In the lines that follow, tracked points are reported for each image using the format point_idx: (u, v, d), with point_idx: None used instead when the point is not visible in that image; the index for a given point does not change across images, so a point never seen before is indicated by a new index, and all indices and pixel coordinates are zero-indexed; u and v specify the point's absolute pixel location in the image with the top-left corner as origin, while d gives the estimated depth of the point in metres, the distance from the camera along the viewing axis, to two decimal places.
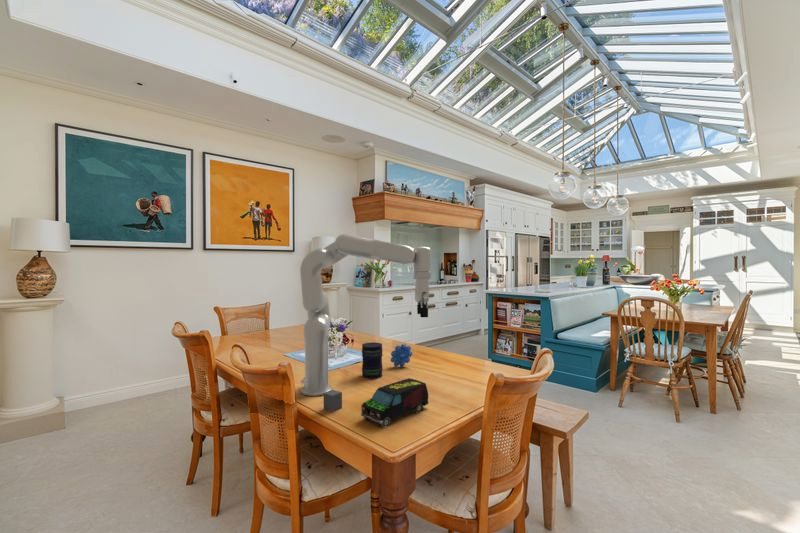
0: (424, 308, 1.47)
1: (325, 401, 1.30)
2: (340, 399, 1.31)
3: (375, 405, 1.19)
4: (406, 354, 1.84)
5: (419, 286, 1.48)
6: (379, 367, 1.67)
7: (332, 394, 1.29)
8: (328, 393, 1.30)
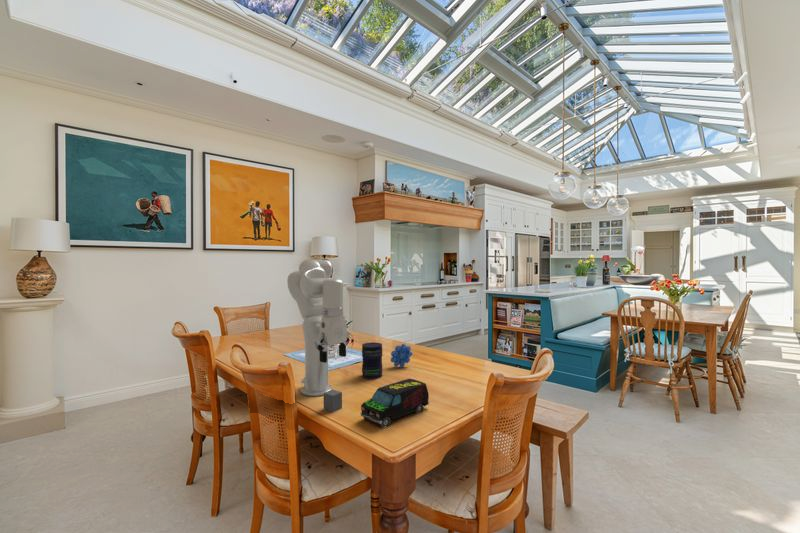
0: None
1: (325, 401, 1.30)
2: (340, 399, 1.31)
3: (375, 405, 1.19)
4: (406, 354, 1.84)
5: None
6: (379, 367, 1.67)
7: (332, 394, 1.29)
8: (328, 393, 1.30)
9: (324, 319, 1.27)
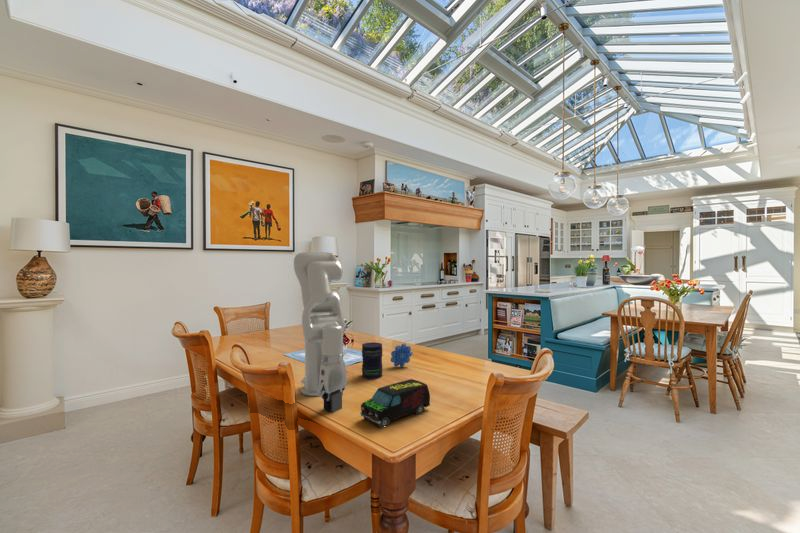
0: None
1: None
2: (340, 399, 1.31)
3: (374, 405, 1.19)
4: (406, 354, 1.84)
5: None
6: (379, 367, 1.67)
7: (332, 394, 1.29)
8: None
9: (324, 366, 1.27)
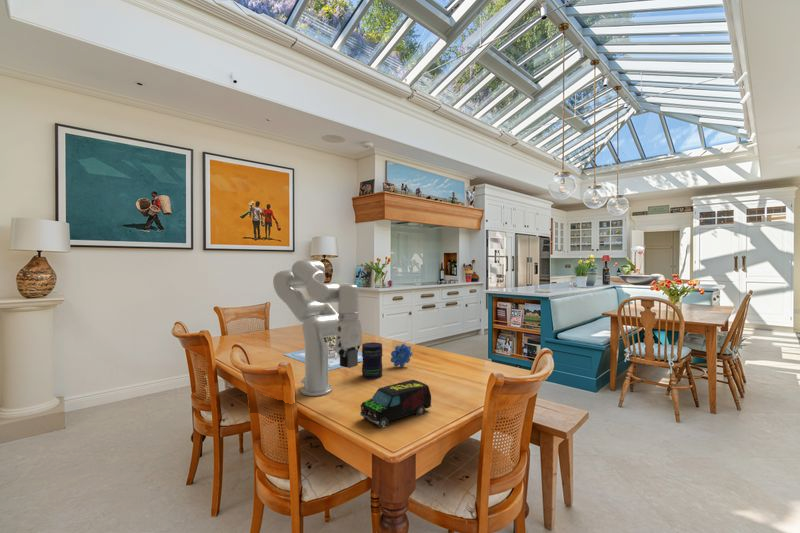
0: None
1: None
2: (356, 356, 1.35)
3: (373, 405, 1.19)
4: (406, 354, 1.84)
5: None
6: (379, 367, 1.67)
7: (348, 351, 1.33)
8: None
9: (340, 323, 1.31)
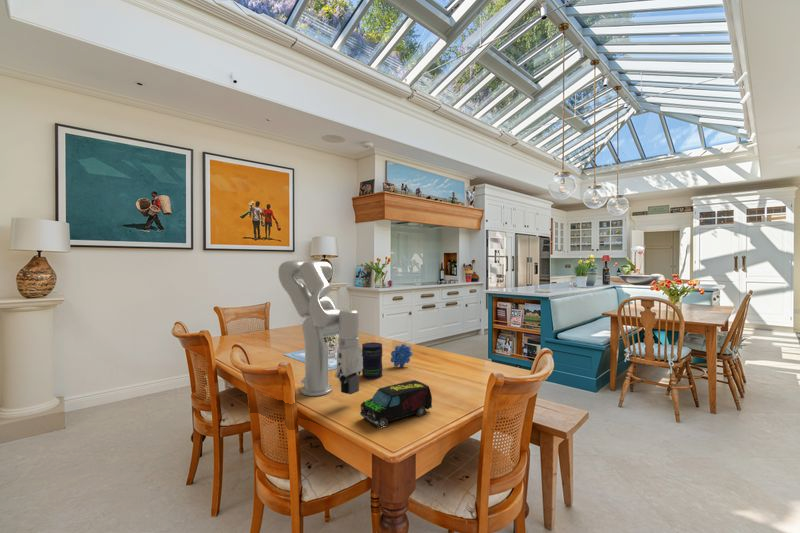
0: None
1: None
2: (357, 382, 1.35)
3: (372, 405, 1.19)
4: (406, 354, 1.84)
5: None
6: (379, 367, 1.67)
7: (349, 377, 1.33)
8: None
9: (341, 350, 1.31)
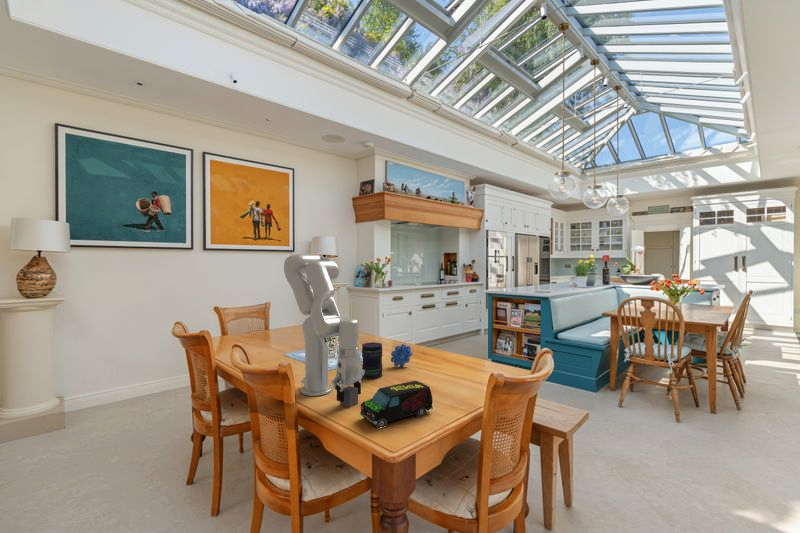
0: None
1: None
2: (356, 395, 1.35)
3: (372, 405, 1.19)
4: (406, 354, 1.84)
5: None
6: (379, 367, 1.67)
7: (349, 390, 1.34)
8: (345, 389, 1.35)
9: (341, 359, 1.31)
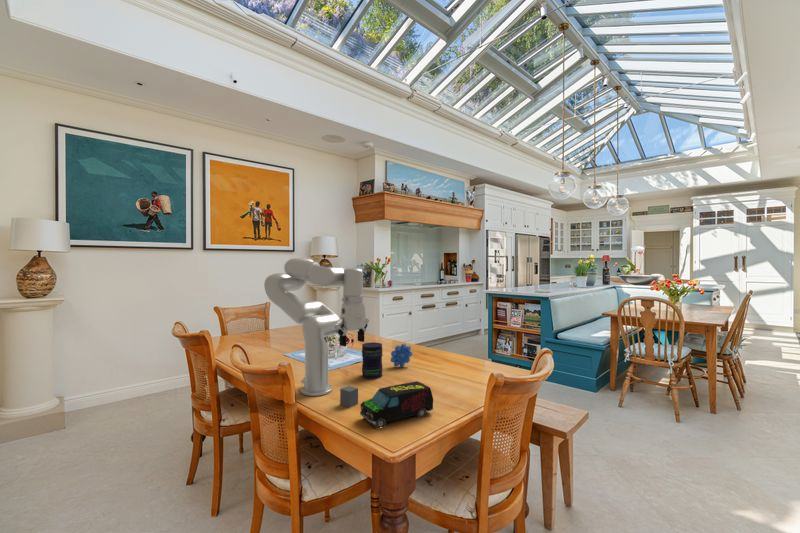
0: None
1: (342, 397, 1.34)
2: (356, 395, 1.35)
3: (371, 405, 1.19)
4: (406, 354, 1.84)
5: None
6: (379, 367, 1.67)
7: (349, 390, 1.34)
8: (345, 389, 1.35)
9: (344, 305, 1.35)
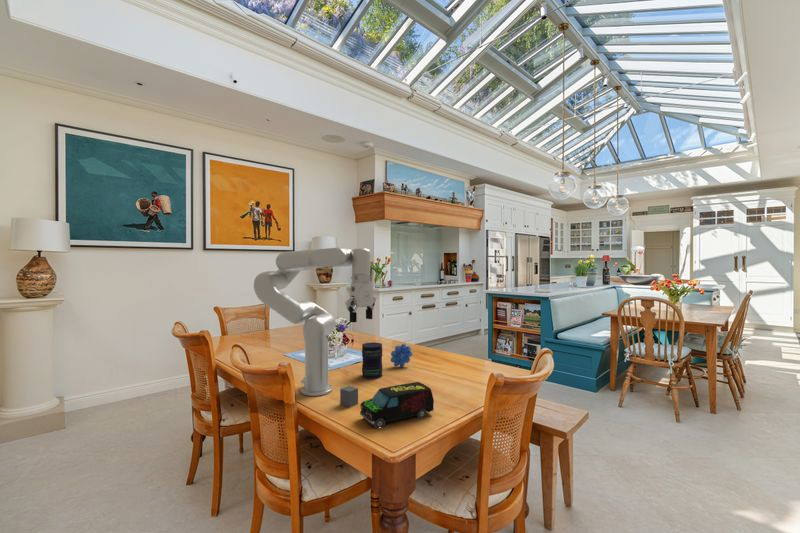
0: None
1: (342, 397, 1.34)
2: (356, 395, 1.35)
3: (371, 405, 1.19)
4: (406, 354, 1.84)
5: None
6: (379, 367, 1.67)
7: (349, 390, 1.34)
8: (345, 389, 1.35)
9: (354, 283, 1.42)
